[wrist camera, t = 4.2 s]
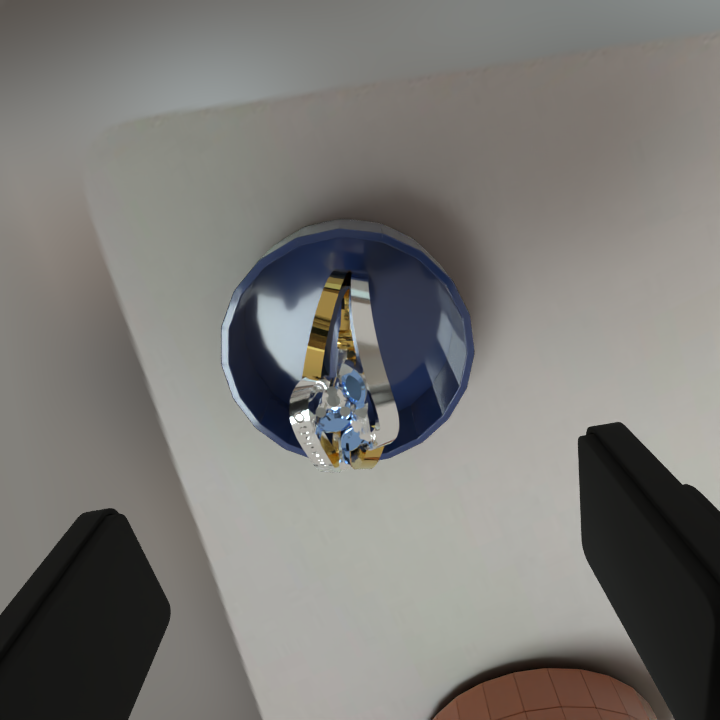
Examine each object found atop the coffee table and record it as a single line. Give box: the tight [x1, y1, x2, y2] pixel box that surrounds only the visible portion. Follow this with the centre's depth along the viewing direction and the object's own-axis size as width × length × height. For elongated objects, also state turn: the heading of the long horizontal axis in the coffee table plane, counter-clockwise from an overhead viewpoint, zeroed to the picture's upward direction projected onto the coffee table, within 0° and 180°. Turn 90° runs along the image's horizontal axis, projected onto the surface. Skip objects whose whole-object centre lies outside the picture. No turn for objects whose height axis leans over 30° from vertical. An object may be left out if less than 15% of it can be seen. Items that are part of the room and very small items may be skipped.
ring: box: [289, 268, 399, 472], centre depth 17 cm, size 7×3×8 cm, turn 174°
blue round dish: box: [221, 219, 475, 460], centre depth 19 cm, size 9×9×3 cm
